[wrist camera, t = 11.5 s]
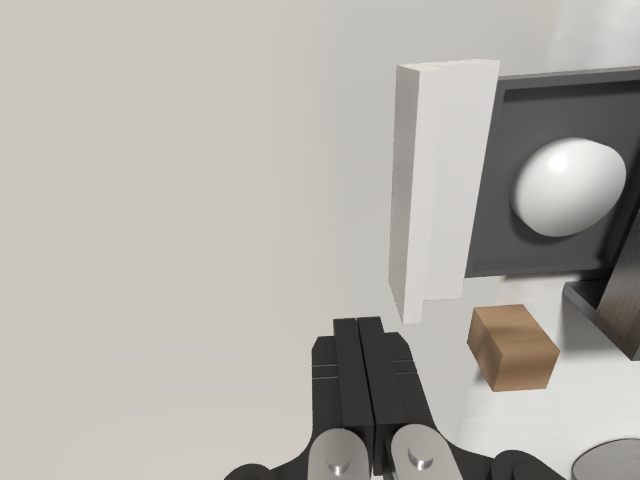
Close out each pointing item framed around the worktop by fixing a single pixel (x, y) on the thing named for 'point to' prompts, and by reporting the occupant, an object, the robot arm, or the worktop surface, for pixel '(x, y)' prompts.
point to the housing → (615, 298)
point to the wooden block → (511, 348)
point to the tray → (497, 172)
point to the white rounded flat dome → (567, 186)
